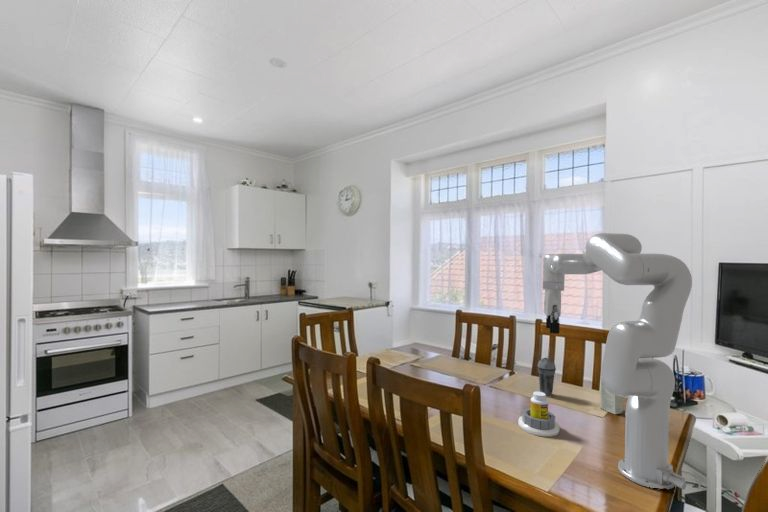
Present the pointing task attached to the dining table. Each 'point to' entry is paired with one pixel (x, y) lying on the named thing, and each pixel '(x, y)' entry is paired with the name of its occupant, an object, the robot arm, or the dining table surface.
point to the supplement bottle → (539, 406)
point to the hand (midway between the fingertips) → (552, 330)
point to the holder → (538, 424)
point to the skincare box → (610, 400)
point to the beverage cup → (546, 375)
